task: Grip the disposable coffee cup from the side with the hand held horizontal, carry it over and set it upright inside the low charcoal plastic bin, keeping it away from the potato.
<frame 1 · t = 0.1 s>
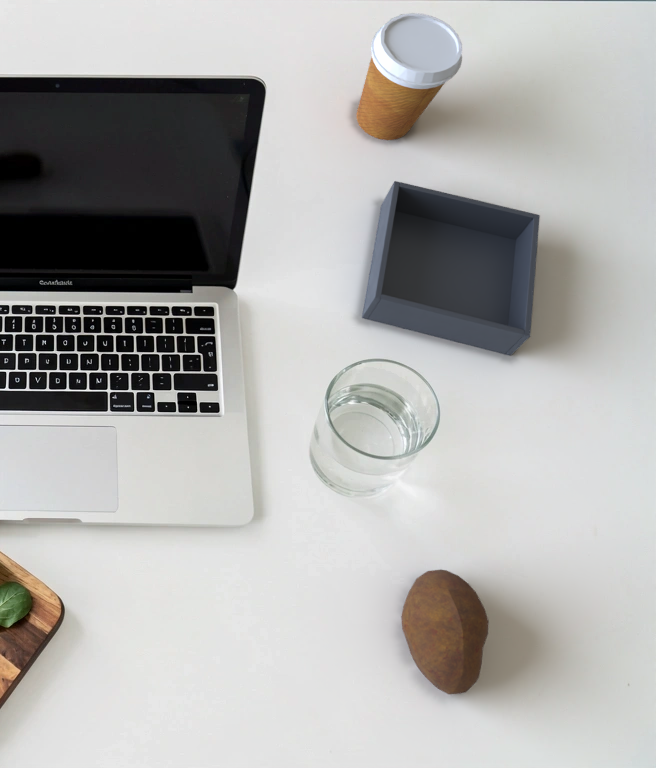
disposable coffee cup: (381, 122, 106), on the table
bin: (441, 279, 96), on the table
potato: (429, 635, 80), on the table
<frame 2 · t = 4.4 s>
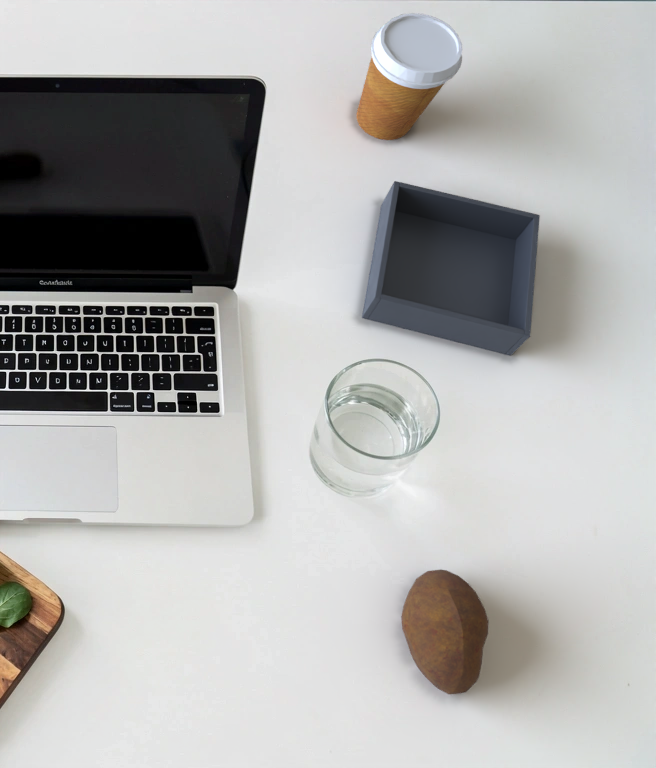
nothing on the table moved.
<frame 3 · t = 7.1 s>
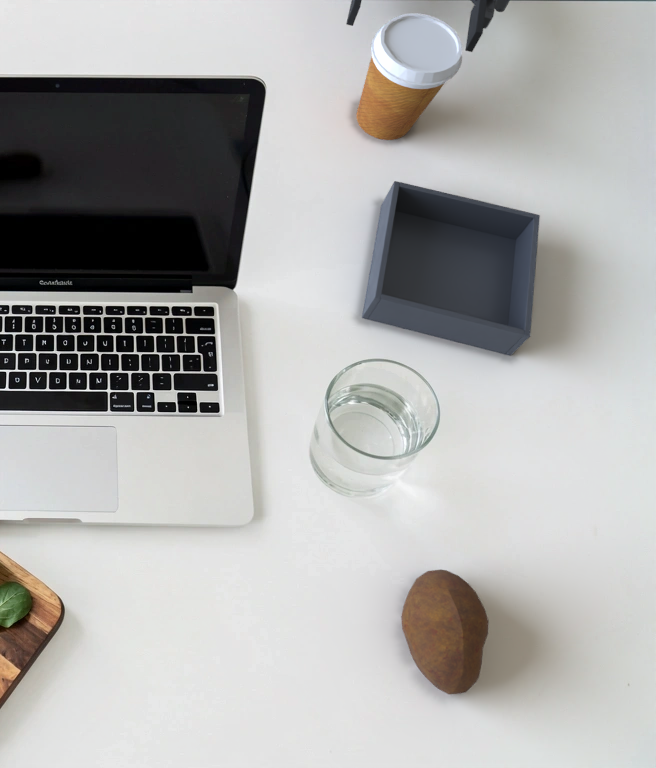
hand: (413, 29, 102), 7 cm above the table, tool horizontal, fingers open, 13 cm apart
nothing on the table moved.
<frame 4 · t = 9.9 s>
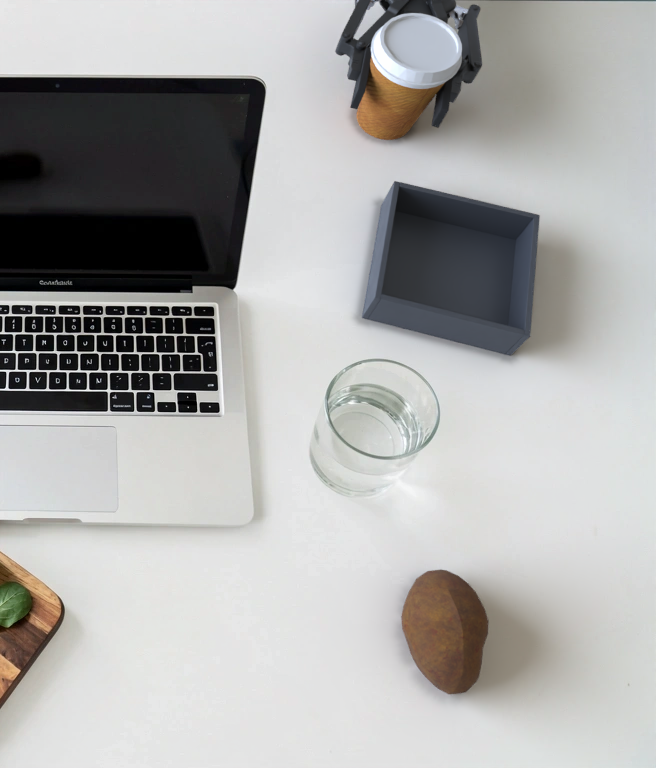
hand: (398, 108, 98), 7 cm above the table, tool horizontal, fingers closed on disposable coffee cup, 8 cm apart
disposable coffee cup: (381, 122, 106), on the table, touching gripper
everything else where it was.
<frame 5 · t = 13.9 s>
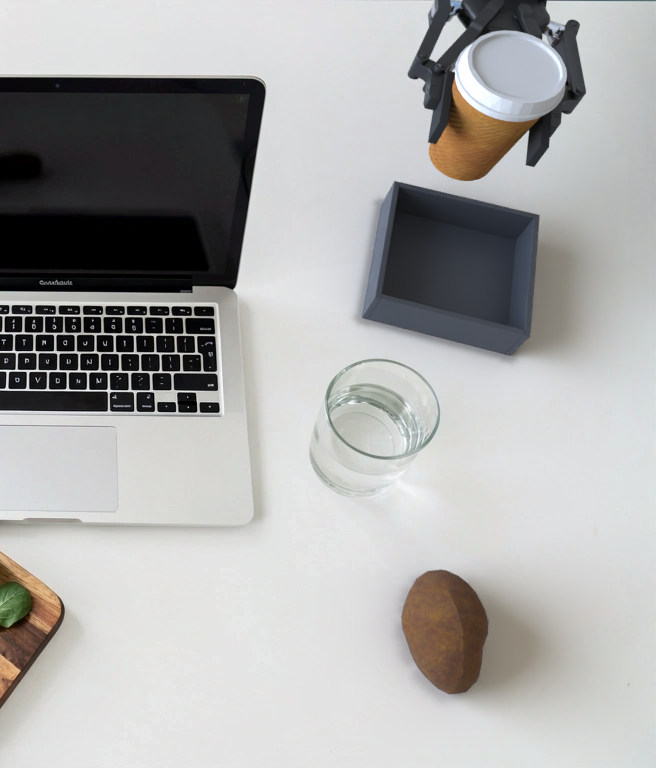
hand: (487, 144, 82), 18 cm above the table, tool horizontal, fingers closed on disposable coffee cup, 8 cm apart
disposable coffee cup: (459, 157, 90), point 11 cm above the table, touching gripper
everything else where it was.
when the fingers open (8 cm above the table, at t = 18.2 s): disposable coffee cup stays where it is, resting on bin.
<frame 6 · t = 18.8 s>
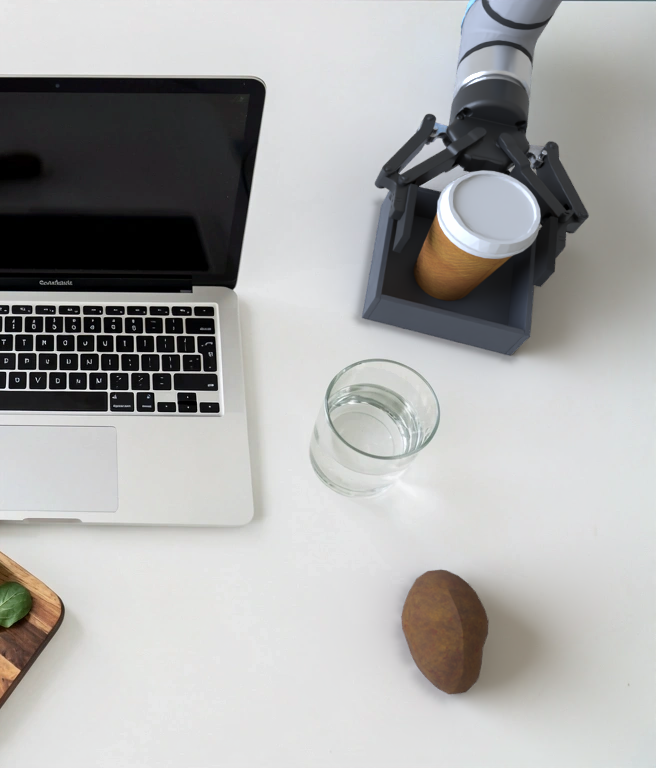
hand: (471, 261, 88), 8 cm above the table, tool horizontal, fingers open, 13 cm apart
disposable coffee cup: (442, 276, 96), resting on bin
everything else where it was.
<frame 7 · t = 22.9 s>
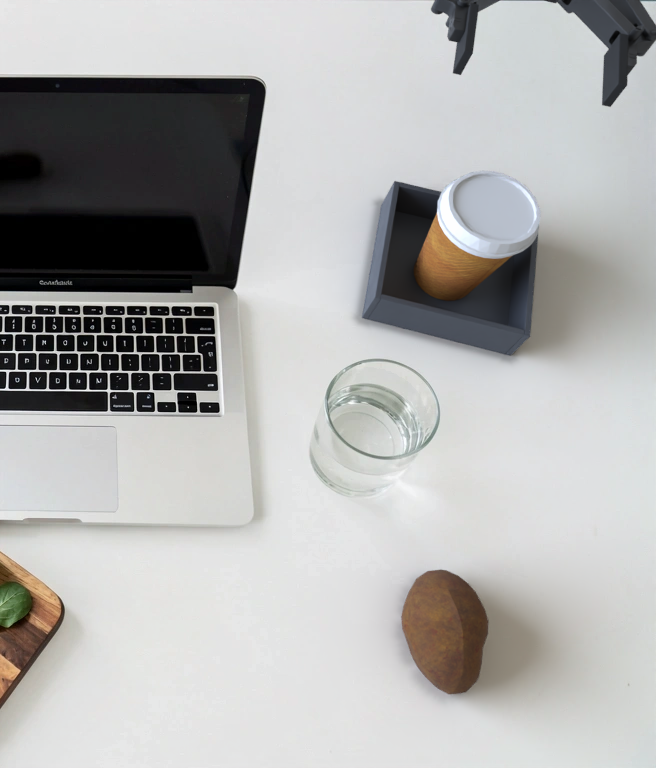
hand: (537, 79, 83), 19 cm above the table, tool horizontal, fingers open, 13 cm apart
nothing on the table moved.
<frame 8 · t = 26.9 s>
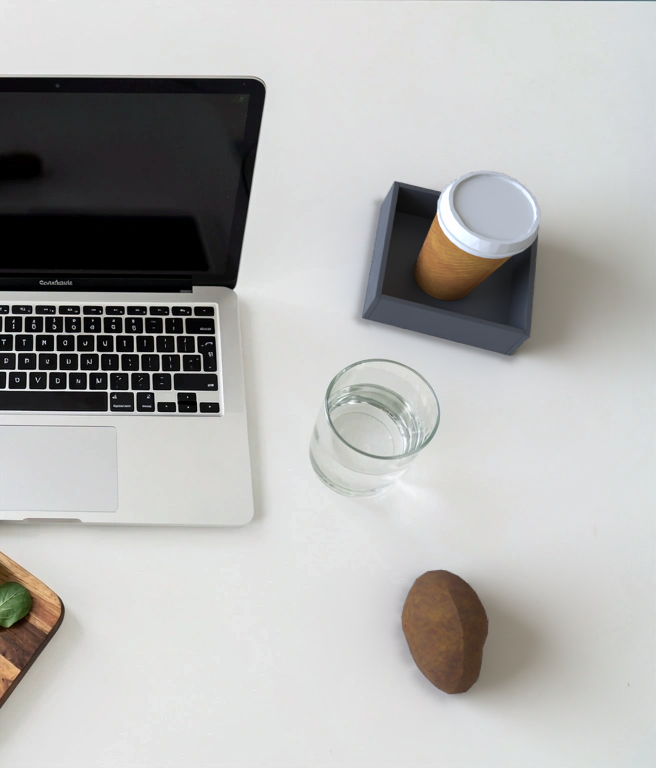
nothing on the table moved.
at the end: disposable coffee cup inside the target area in the bin (0.1 cm from its centre), point 0.4 cm above the bin's base; disposable coffee cup tilted 0°; disposable coffee cup touching bin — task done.
